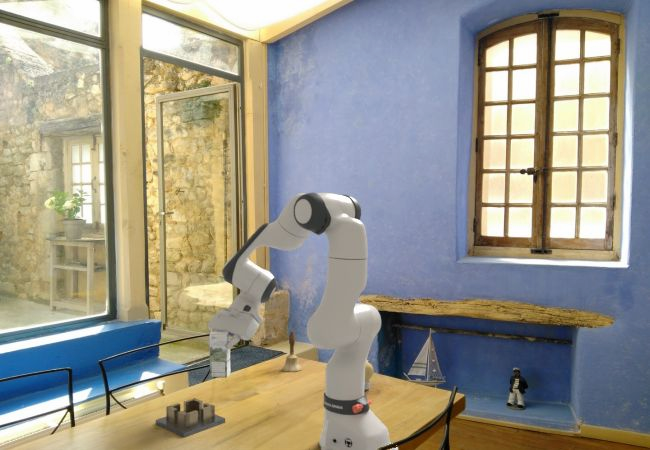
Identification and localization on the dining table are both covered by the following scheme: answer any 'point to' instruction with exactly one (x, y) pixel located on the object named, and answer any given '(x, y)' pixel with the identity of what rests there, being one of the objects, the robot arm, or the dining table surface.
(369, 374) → the light bulb
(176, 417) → the metal jaw fixture
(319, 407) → the dining table surface
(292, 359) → the hand bell
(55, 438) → the dining table surface
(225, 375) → the syrup box
